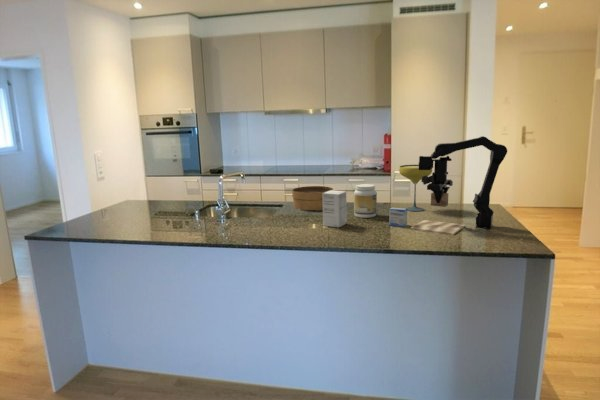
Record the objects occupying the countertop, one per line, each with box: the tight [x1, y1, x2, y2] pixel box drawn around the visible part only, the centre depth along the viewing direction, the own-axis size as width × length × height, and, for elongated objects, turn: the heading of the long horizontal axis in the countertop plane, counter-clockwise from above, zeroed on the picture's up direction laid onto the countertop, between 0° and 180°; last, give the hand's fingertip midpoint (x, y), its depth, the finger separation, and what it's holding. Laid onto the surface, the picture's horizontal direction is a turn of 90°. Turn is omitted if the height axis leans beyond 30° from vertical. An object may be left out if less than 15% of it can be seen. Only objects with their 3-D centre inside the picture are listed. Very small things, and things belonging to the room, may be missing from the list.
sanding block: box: [430, 191, 449, 208], centre depth 204 cm, size 7×4×6 cm, turn 52°
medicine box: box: [388, 207, 408, 228], centre depth 208 cm, size 8×4×9 cm, turn 62°
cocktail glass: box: [398, 164, 433, 213], centre depth 241 cm, size 18×18×25 cm
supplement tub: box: [353, 183, 378, 219], centre depth 230 cm, size 12×12×17 cm
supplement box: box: [322, 189, 348, 228], centre depth 212 cm, size 10×9×17 cm
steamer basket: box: [291, 185, 334, 211], centre depth 259 cm, size 25×25×11 cm
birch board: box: [410, 219, 466, 236], centre depth 202 cm, size 20×18×1 cm
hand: (439, 202), depth 204 cm, fingers closed on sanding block, 4 cm apart
